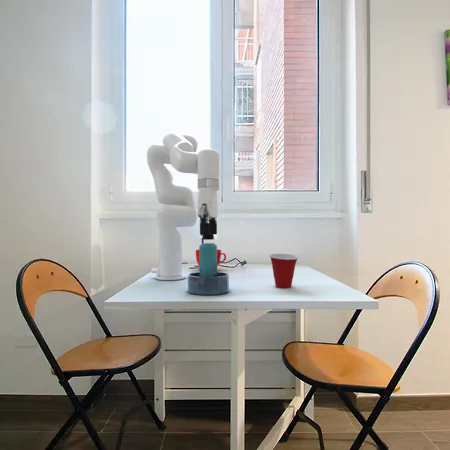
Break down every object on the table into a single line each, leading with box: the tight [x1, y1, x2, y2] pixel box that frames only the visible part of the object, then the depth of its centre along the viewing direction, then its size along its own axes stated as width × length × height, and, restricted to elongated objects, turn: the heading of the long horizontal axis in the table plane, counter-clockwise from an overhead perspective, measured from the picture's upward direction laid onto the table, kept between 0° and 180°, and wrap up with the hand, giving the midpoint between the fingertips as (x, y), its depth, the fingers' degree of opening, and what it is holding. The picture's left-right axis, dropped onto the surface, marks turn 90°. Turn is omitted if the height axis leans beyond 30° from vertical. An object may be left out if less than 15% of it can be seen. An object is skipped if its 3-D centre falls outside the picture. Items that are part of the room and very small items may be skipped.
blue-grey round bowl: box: [187, 271, 230, 296], centre depth 123 cm, size 14×14×6 cm
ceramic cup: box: [195, 248, 227, 267], centre depth 178 cm, size 13×17×10 cm
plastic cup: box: [269, 253, 299, 289], centre depth 131 cm, size 11×11×12 cm
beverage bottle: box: [198, 233, 218, 277], centre depth 123 cm, size 6×7×20 cm
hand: (208, 234), depth 122 cm, fingers open, 9 cm apart
